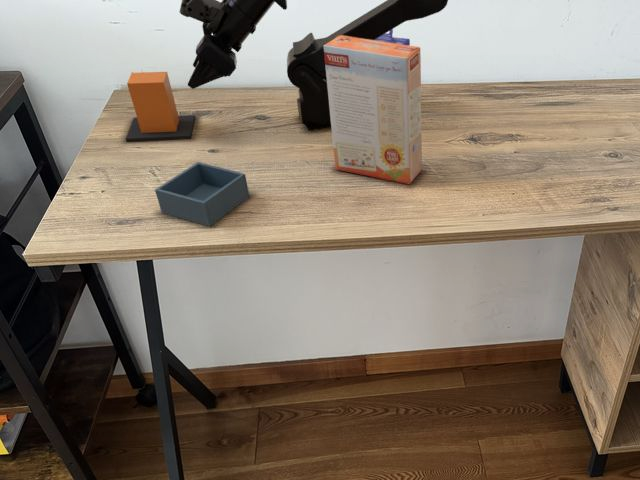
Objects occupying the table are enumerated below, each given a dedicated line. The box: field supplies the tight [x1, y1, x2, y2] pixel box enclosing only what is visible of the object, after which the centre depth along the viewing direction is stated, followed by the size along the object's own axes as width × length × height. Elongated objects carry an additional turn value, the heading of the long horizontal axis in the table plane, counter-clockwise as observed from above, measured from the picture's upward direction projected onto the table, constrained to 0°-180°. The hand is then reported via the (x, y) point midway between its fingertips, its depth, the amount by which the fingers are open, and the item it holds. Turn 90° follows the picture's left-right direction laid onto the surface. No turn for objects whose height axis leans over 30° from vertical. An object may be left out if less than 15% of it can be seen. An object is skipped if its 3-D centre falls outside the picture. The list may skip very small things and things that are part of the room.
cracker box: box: [324, 35, 423, 185], centre depth 111 cm, size 14×6×21 cm, turn 71°
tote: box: [154, 161, 250, 227], centre depth 106 cm, size 10×9×4 cm
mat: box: [125, 114, 196, 143], centre depth 126 cm, size 11×9×1 cm
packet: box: [126, 71, 179, 133], centre depth 123 cm, size 6×5×9 cm
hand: (192, 76), depth 121 cm, fingers open, 9 cm apart
